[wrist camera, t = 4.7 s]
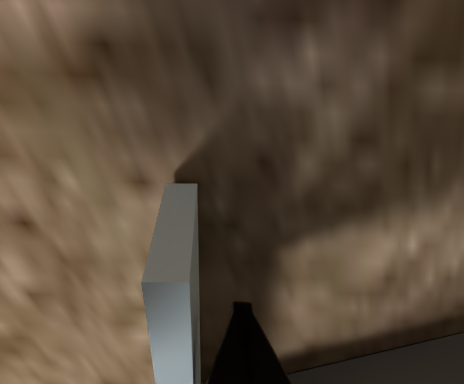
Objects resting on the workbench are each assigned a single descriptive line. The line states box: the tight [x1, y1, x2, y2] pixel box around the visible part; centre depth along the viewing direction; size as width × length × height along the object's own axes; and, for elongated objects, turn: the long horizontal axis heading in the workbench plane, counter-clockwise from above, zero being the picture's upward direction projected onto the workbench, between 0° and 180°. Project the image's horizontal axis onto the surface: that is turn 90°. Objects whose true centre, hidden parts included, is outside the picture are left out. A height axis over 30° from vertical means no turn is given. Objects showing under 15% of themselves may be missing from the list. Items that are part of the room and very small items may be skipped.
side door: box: [141, 183, 203, 384], centre depth 10 cm, size 10×1×4 cm, turn 178°
